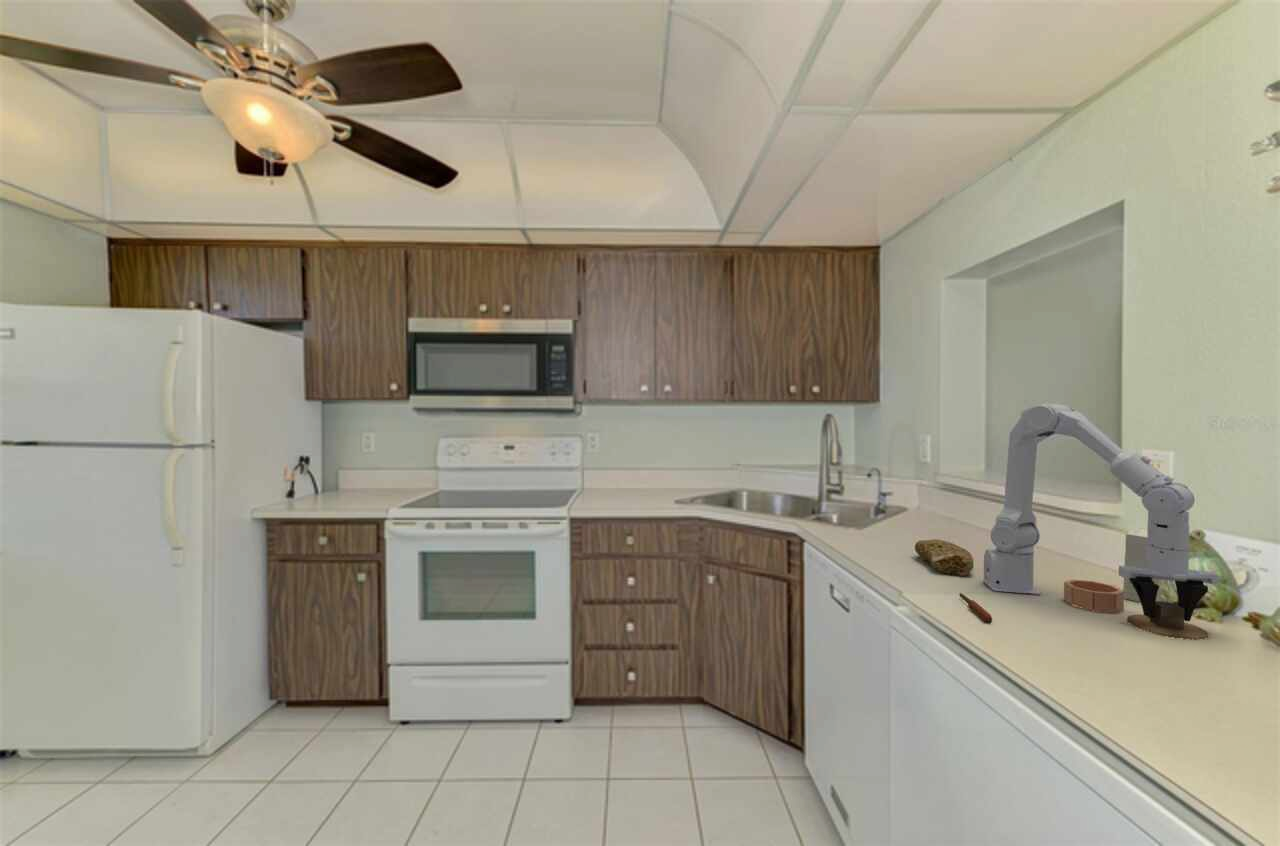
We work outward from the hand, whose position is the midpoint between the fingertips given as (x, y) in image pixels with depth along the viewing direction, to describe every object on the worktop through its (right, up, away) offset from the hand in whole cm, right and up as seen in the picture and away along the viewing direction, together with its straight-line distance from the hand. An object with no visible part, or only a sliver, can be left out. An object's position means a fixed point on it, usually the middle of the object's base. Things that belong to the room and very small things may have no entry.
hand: (1166, 617), depth 104 cm
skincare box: (+11, -2, +17) cm, 20 cm away
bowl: (-4, -2, +13) cm, 13 cm away
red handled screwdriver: (-31, -2, +9) cm, 33 cm away
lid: (0, -2, 0) cm, 2 cm away
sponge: (-19, -2, +43) cm, 47 cm away
